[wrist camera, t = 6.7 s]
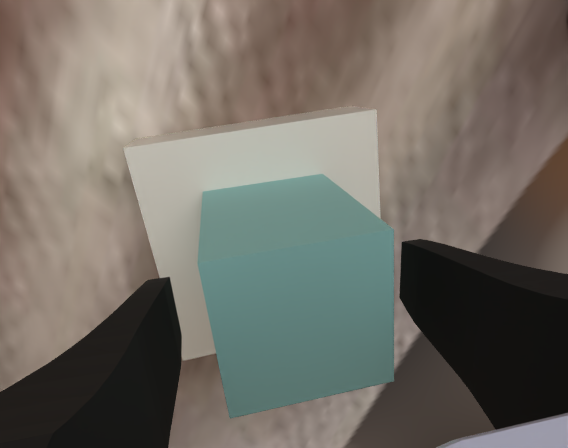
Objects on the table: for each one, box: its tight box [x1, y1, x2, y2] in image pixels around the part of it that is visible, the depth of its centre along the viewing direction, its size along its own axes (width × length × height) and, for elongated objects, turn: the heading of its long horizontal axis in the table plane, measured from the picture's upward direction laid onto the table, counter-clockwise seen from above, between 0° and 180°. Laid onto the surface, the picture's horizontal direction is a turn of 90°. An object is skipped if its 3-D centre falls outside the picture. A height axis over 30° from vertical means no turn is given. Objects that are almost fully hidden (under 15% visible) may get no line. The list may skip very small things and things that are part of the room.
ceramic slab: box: [123, 106, 381, 361], centre depth 16 cm, size 9×9×3 cm
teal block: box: [197, 174, 394, 418], centre depth 12 cm, size 4×4×6 cm
